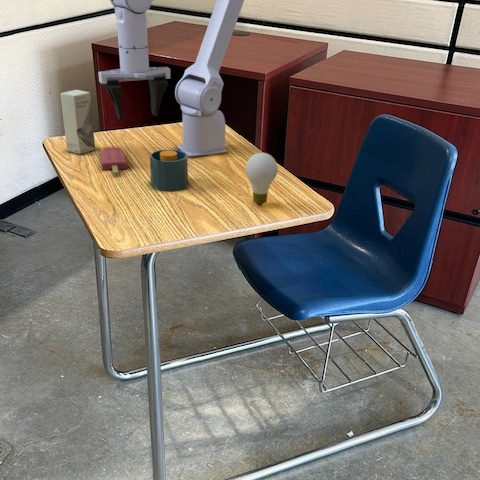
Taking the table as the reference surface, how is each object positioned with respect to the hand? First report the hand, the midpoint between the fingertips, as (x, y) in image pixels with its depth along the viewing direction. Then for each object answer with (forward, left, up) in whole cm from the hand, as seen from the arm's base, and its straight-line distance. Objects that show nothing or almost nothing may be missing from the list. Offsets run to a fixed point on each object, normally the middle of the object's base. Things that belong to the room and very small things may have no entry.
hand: (137, 116), depth 127 cm
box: (+9, -14, -11) cm, 20 cm away
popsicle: (+5, -2, -11) cm, 12 cm away
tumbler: (-2, +13, -10) cm, 17 cm away
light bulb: (-14, +30, -11) cm, 34 cm away
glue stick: (-2, +13, -10) cm, 17 cm away
